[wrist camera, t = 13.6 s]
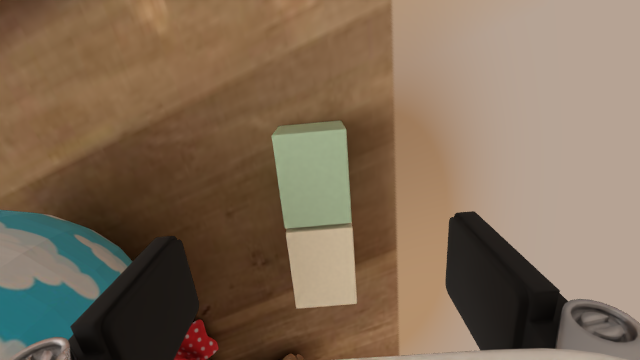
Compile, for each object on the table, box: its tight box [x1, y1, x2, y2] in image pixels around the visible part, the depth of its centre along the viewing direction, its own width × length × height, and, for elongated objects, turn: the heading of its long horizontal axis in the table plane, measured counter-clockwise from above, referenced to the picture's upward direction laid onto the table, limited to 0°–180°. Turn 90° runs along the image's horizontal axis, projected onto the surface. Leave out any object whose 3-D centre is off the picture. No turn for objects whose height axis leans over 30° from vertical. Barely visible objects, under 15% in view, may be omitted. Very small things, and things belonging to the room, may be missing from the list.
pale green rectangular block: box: [272, 120, 352, 229], centre depth 23 cm, size 7×5×4 cm
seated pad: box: [286, 223, 357, 309], centre depth 26 cm, size 7×5×4 cm
